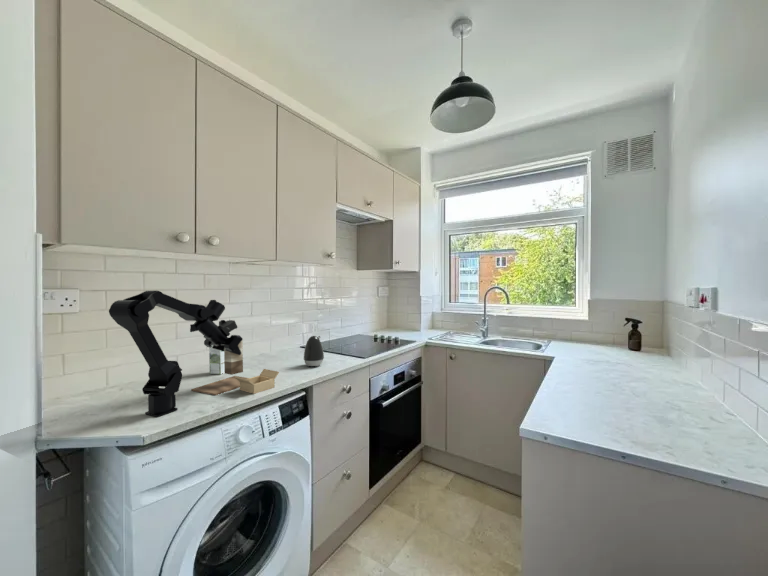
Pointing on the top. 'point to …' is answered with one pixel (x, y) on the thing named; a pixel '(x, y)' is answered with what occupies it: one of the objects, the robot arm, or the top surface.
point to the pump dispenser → (313, 352)
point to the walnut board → (219, 386)
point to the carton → (258, 382)
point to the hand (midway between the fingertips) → (236, 353)
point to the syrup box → (216, 361)
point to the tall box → (233, 361)
